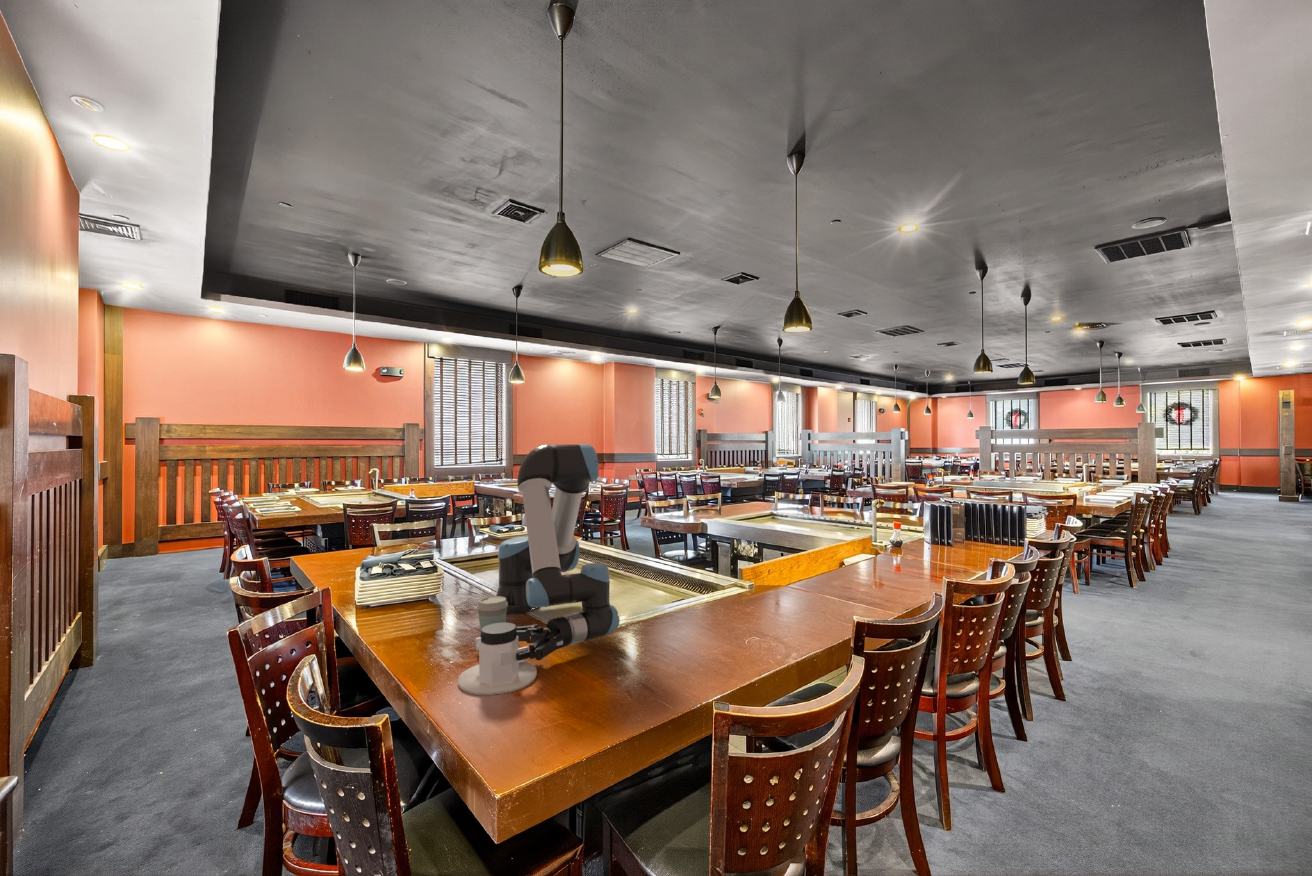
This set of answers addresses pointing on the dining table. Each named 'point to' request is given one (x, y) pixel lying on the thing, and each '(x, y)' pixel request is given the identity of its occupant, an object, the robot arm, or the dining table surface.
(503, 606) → the coffee cup
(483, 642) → the jar
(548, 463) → the robot arm
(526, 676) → the saucer
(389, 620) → the dining table surface
